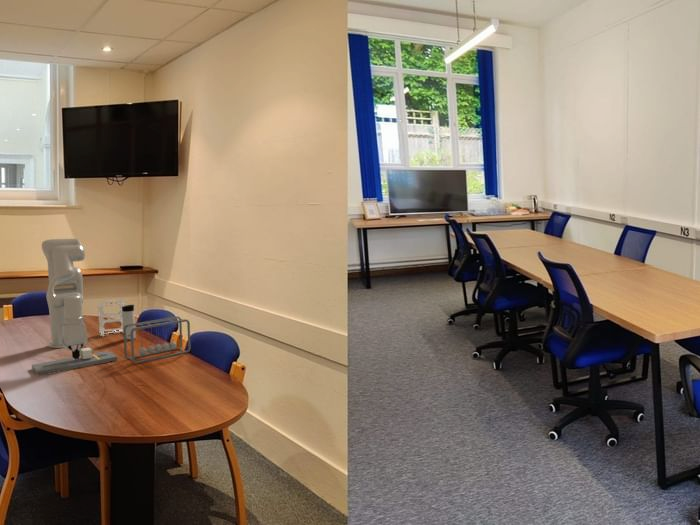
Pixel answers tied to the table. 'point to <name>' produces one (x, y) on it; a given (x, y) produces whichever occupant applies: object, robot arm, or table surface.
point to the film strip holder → (102, 321)
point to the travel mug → (128, 320)
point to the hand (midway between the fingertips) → (76, 358)
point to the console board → (72, 363)
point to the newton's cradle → (158, 347)
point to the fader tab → (86, 353)
